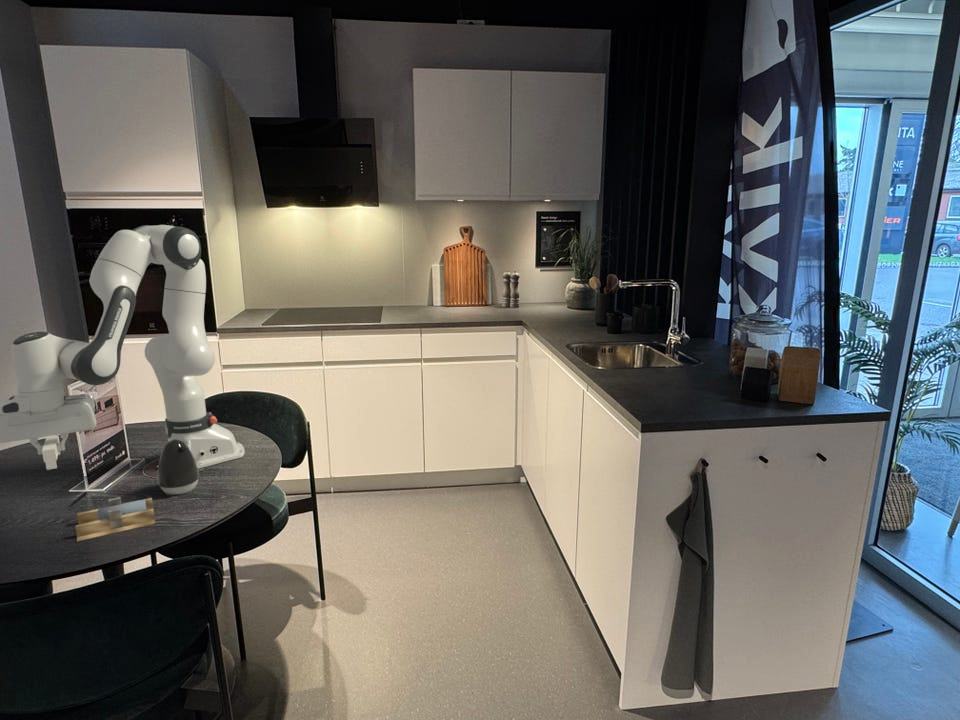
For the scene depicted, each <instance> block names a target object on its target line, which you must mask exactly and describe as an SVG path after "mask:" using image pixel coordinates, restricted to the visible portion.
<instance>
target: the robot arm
mask: <svg viewBox="0 0 960 720" xmlns="http://www.w3.org/2000/svg"><path fill="white" fill-rule="evenodd" d="M201 257H202V246H201V241H200V239H199V236H198V235H197V234H196V232H195V231H193V230H191V229H190V228H186V227H183V226H174V225H169V224H168V225H167V224H158V225H148V224H146V225H140V226H138V227H137V226H136V228H134V229H132V230H131V229H120V230H118V231H116V232H115V233H114V234H113V236H111V238H110V239H109V240H108V241H107V243H106V244H105V246H104V247H103V248H102V250H101V252H100V254H99V255H98V257H97V259H96V261H95V263H94V265H93V267H92V269H91V273H90V277H89V285H90V288H91V289H92V291H93V293H94V295H96V296H97V297H98V298H99V299H100V300H101V302H102V304H103V312H102V316H101V318H100V321H99V324H98V326H97V328H96V331H95V334H94V337H93V339H92V340H91V341H89V342H86V341H81V340H77V339H76V340H75V339H70V338H69V339H68V338H63V337H60V336H57V335H54V334H51V333H50V332H48V331H35V332H29V333H25V334H23V335H20V336H18V337H17V338H16V339H15V340H13V342H12V345H11V346H12V347H11V360H12V366H13V373H14V376H15V377H16V379H17V393H16V394H13V395H11V396H9V397H6V398H3V399H1V400H0V444H3V443H4V444H5V443H11V442H17V441H25V440H29V443H30V444H31V445H32V446H33V447H34V448H35V449H37V454H38V455H39V456H40V455H43V454H42V449H43V446H44V444H43V445H41V444H40V443H39V442H38V440H39V438H44V437H45V438H46V437H52V436H59V435H60V438H61V439H62V440H61V442H60V443H57V448H58V449H57V450H58V451H60V452H63V451H66V444H65V443H66V441H67V440H68V437H69V434H71V433H78V432H85V431H90V430H91V431H92V430H94V429H96V428H95V427H97V418H96V413H95V412H94V409H95V408H96V404H95V403H96V402H95V399H94V397H93V396H91V395H88V394H86V393H82V394H75V395H74V394H72V395H65V392H64V387H63V386H64V385H63V381H64V380H65V379H71V380H72V379H73V380H76V381H80V382H83V383H85V384H87V385H90V386H102V385H104V384H106V383H109V382H110V381H112V380H113V379H114V378H115V377H116V376H117V374H118V373H119V370H120V366H121V359H122V355H121V353H122V348H123V344H124V341H125V339H126V336H127V333H128V330H129V326H130V324H131V322H132V317H133V315H134V312H135V308H136V304H137V292H138V289H139V286H140V283H141V282H142V279H143V278H144V275H145V272H146V270H147V268H148V266H149V265H150V264H155V265H163V267H164V270H165V274H166V275H165V281H164V289H163V291H164V292H163V301H162V311H161V312H162V317H163V320H164V321H165V322H166V325H167V330H168V334H163V335H158V336H155V337H153V338H150V339H149V340H148V342H147V343H146V345H145V348H144V357H145V358H146V360H147V362H148V363H149V364H150V366H151V367H152V369H153V371H154V374H155V376H156V379H157V381H158V384H159V386H160V390H161V392H162V396H163V403H164V409H165V416H166V418H165V419H164V420H165V423H164V425H165V427H164V428H165V432H166V436H167V441H168V442H169V441H171V440H181V441H183V442H184V443H185V444H186V445H187V446H188V448H189V449H190V451H191V453H192V455H193V457H194V459H195V461H196V464H197V467H198V470H199V469H203V468H205V467H206V468H207V467H210V466H214V465H218V464H221V463H225V462H229V461H233V460H237V459H239V458H243V457H244V455H245V447H244V445H243V444H242V443H240V442H238V441H236V438H235V436H234V434H233V432H232V431H230V429H227V428H226V427H223V426H221V425H219V424H218V423H217V422H218V419H217V417H216V416H215V415H214V414H212V412H210V411H209V412H207V408H206V398H205V392H204V389H203V387H202V385H201V384H200V382H199V381H198V379H197V377H199V376H204V375H206V374H208V373H209V372H210V371H211V370H212V368H213V367H214V364H215V361H216V360H215V359H216V357H215V356H216V355H215V351H214V350H213V349H212V348H211V346H210V344H209V341H208V338H207V333H206V329H205V327H206V326H205V319H204V318H205V317H204V316H205V304H206V293H207V273H206V266H205V263H204V261H203V260H202V259H201ZM168 442H167V443H168Z"/></svg>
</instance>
